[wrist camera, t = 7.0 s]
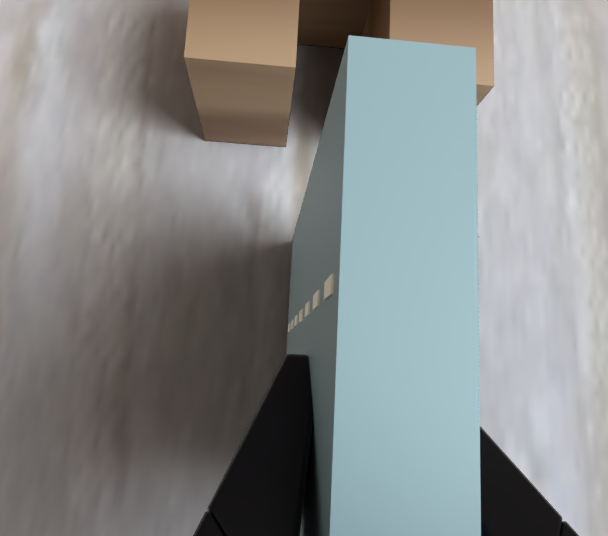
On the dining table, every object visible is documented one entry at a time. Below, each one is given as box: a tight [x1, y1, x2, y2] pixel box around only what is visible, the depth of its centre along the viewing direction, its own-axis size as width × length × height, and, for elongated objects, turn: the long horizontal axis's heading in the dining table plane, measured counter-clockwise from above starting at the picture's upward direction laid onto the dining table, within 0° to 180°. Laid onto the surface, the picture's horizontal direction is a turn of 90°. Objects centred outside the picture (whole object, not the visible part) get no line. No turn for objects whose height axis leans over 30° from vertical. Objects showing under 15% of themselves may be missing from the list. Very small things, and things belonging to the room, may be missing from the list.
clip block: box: [184, 0, 494, 147], centre depth 16 cm, size 5×8×5 cm, turn 87°
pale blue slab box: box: [286, 35, 481, 536], centre depth 11 cm, size 8×2×11 cm, turn 177°
